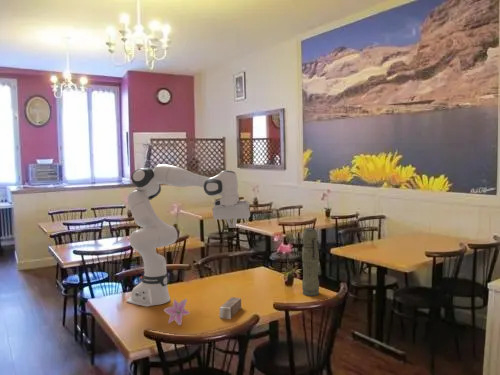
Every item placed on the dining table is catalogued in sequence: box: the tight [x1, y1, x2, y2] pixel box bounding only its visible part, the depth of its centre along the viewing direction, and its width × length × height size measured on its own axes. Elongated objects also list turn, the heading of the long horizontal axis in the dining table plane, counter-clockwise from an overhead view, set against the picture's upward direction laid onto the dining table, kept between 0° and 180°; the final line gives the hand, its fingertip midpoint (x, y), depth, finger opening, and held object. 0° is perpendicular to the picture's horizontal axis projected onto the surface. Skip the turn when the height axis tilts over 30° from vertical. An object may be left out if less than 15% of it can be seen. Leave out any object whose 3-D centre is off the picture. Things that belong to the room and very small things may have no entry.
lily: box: [163, 298, 191, 326], centre depth 198 cm, size 12×12×10 cm
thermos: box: [301, 227, 320, 297], centre depth 232 cm, size 9×12×35 cm
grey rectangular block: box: [219, 296, 242, 320], centre depth 207 cm, size 5×5×15 cm
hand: (232, 227), depth 227 cm, fingers closed
